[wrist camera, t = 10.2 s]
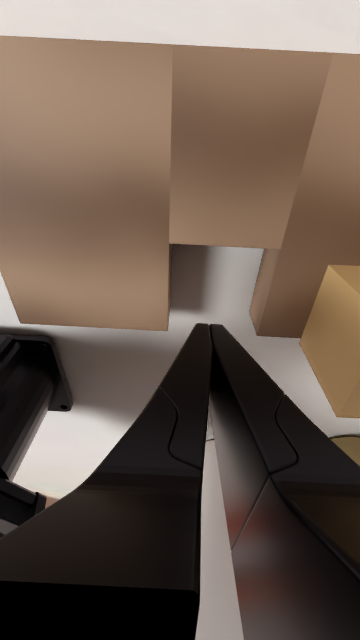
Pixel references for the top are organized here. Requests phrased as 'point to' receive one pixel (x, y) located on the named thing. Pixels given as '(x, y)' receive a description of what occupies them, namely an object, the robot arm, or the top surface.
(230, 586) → the milk bottle
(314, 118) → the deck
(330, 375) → the block
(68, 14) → the top surface
